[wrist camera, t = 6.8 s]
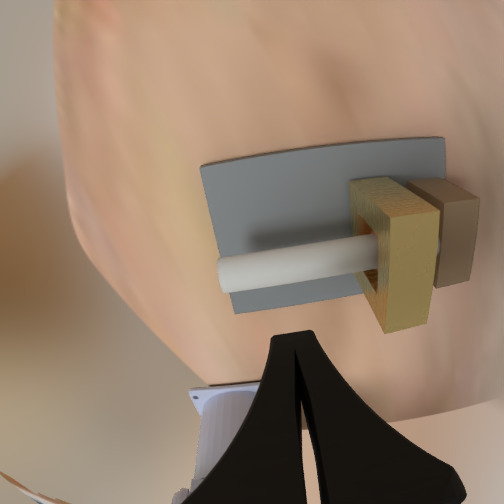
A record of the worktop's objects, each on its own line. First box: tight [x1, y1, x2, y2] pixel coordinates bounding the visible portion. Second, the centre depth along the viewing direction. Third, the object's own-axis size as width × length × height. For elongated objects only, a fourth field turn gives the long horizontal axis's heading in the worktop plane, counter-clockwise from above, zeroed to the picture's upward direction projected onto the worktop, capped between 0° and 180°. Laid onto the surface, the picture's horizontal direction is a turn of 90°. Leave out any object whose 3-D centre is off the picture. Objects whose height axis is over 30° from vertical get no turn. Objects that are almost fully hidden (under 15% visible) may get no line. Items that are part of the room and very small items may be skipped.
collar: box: [348, 177, 440, 334], centre depth 15 cm, size 2×6×6 cm, turn 10°
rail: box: [200, 137, 480, 314], centre depth 17 cm, size 15×10×5 cm, turn 100°
